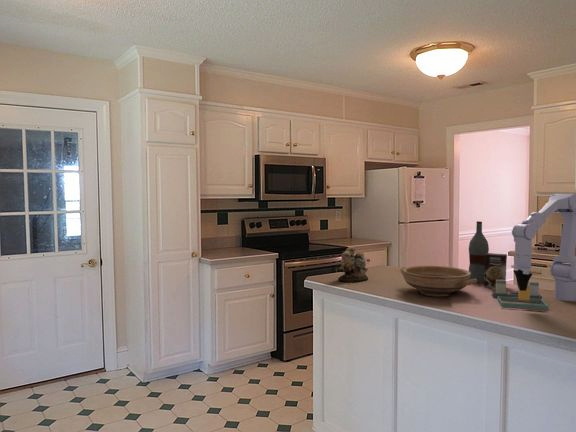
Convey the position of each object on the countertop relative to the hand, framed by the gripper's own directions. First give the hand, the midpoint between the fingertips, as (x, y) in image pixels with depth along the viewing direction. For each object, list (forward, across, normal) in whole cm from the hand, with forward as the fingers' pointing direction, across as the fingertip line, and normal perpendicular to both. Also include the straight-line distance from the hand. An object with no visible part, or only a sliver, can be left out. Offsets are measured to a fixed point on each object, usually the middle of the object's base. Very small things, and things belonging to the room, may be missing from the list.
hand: (522, 289), depth 179 cm
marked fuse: (+4, 0, +1) cm, 4 cm away
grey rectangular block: (+6, -12, +6) cm, 14 cm away
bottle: (+7, -48, -12) cm, 49 cm away
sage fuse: (+6, -12, -6) cm, 14 cm away
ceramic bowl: (+7, -16, -32) cm, 36 cm away
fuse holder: (+7, -12, 0) cm, 13 cm away
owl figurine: (+7, -34, -72) cm, 80 cm away
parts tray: (+7, 0, 0) cm, 7 cm away
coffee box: (+7, -34, -6) cm, 35 cm away
